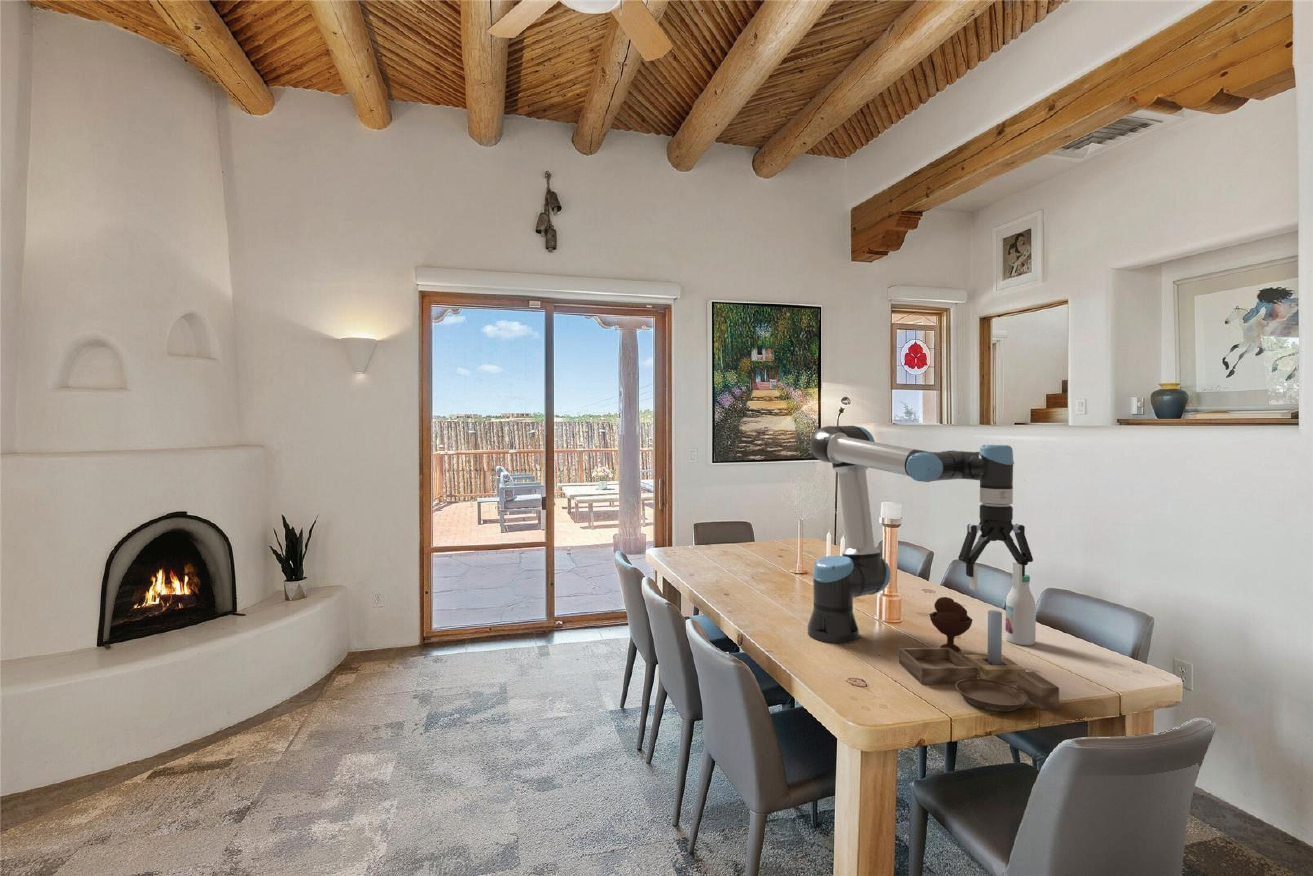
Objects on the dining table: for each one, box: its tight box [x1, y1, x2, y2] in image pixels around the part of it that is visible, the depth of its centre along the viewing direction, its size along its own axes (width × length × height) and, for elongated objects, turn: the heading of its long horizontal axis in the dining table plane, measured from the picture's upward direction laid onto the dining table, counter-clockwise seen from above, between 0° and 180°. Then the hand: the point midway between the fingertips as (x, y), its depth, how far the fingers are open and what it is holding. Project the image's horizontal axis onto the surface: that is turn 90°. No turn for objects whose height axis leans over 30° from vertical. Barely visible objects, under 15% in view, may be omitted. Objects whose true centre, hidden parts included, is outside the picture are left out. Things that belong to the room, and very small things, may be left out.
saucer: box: [955, 678, 1029, 712], centre depth 144 cm, size 15×15×3 cm
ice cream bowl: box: [929, 596, 973, 654], centre depth 177 cm, size 11×11×15 cm
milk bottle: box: [1004, 573, 1037, 646], centre depth 183 cm, size 8×8×20 cm
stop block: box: [1016, 671, 1060, 711], centre depth 144 cm, size 4×9×5 cm, turn 1°
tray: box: [898, 647, 978, 685], centre depth 160 cm, size 14×14×4 cm
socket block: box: [964, 654, 1026, 682], centre depth 160 cm, size 10×10×3 cm
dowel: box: [987, 609, 1003, 665], centre depth 160 cm, size 3×3×16 cm
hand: (995, 589), depth 160 cm, fingers open, 11 cm apart
